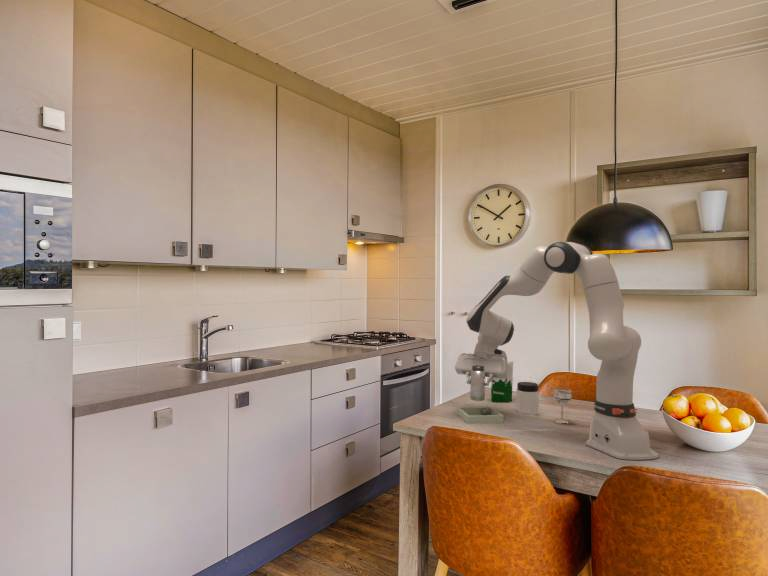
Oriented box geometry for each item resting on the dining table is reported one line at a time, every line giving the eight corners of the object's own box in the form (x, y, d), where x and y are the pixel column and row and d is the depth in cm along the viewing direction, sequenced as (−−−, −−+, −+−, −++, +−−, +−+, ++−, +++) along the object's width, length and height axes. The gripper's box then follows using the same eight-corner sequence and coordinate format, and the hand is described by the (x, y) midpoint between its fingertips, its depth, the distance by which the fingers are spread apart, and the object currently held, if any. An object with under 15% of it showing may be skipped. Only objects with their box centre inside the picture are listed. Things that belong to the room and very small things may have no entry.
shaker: (486, 400, 196) (487, 367, 195) (472, 400, 195) (473, 367, 195) (482, 397, 201) (482, 365, 201) (468, 397, 200) (469, 365, 200)
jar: (527, 416, 206) (528, 386, 206) (511, 412, 213) (512, 383, 213) (542, 413, 211) (543, 384, 211) (526, 409, 218) (527, 381, 218)
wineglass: (557, 418, 204) (557, 388, 204) (574, 422, 199) (574, 390, 199) (549, 421, 199) (550, 390, 199) (566, 425, 194) (567, 393, 194)
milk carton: (488, 401, 231) (489, 356, 231) (495, 398, 239) (496, 354, 238) (507, 404, 226) (508, 358, 226) (514, 400, 234) (515, 356, 234)
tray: (503, 424, 194) (503, 415, 194) (467, 425, 192) (467, 416, 192) (490, 414, 208) (491, 406, 208) (456, 415, 206) (456, 407, 206)
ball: (489, 415, 203) (490, 408, 203) (482, 416, 203) (482, 408, 203) (487, 414, 206) (487, 406, 206) (480, 414, 206) (480, 406, 206)
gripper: (458, 348, 208) (449, 376, 200) (509, 352, 199) (502, 381, 191) (461, 357, 212) (452, 385, 204) (511, 362, 203) (505, 391, 195)
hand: (477, 384), depth 197 cm, fingers closed on shaker, 5 cm apart
